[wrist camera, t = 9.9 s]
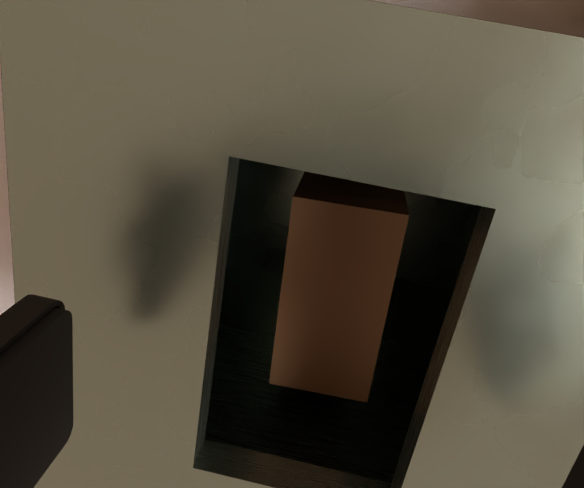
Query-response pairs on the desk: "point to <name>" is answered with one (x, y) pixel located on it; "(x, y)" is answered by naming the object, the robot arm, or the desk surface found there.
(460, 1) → the desk surface
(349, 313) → the block
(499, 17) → the desk surface
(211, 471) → the box
